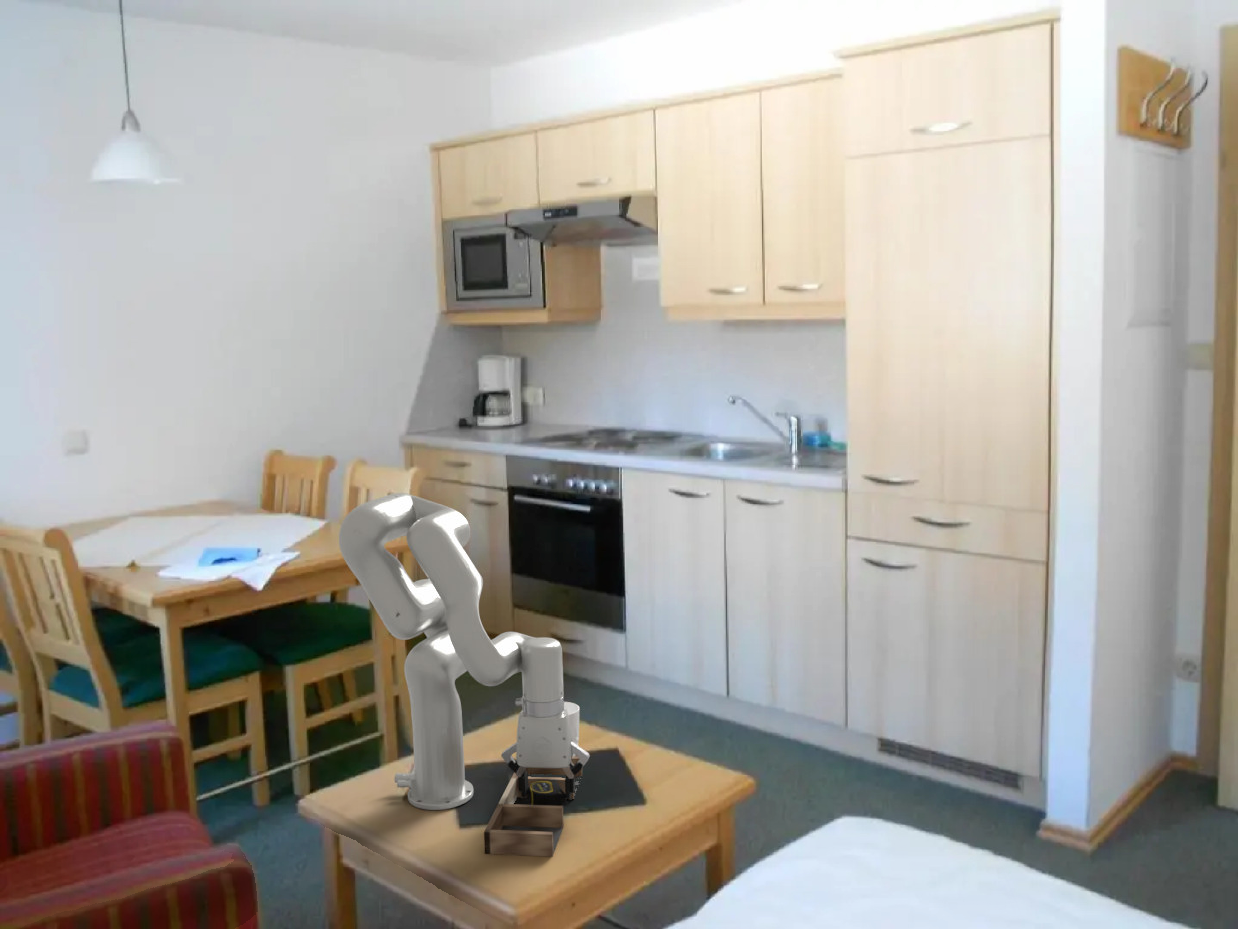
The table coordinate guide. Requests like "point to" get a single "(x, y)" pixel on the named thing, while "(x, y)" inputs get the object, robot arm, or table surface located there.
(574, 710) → the white cup
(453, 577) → the robot arm
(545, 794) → the tape measure
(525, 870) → the table surface
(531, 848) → the wooden wall shelf
